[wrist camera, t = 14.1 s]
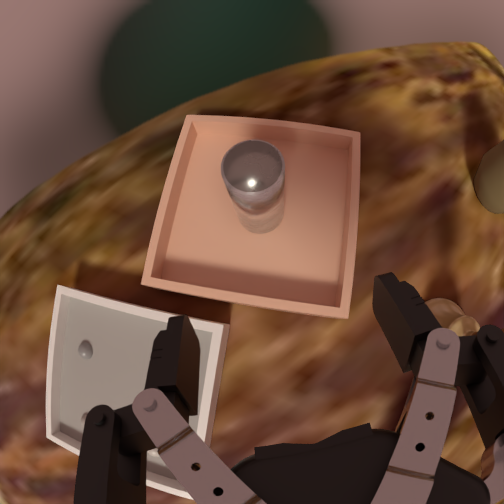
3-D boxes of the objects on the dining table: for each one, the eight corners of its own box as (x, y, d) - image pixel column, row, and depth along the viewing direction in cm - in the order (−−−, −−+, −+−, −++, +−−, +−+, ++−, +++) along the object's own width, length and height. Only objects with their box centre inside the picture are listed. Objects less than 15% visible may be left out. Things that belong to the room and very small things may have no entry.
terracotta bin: (155, 288, 29) (141, 284, 26) (194, 132, 33) (186, 114, 29) (339, 318, 27) (348, 318, 24) (353, 149, 31) (360, 132, 27)
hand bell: (445, 389, 24) (549, 423, 9) (388, 357, 26) (488, 386, 10) (477, 319, 26) (586, 307, 10) (425, 283, 27) (533, 246, 12)
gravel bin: (63, 430, 26) (46, 437, 23) (76, 288, 30) (57, 284, 27) (203, 484, 24) (195, 500, 21) (230, 324, 28) (223, 324, 24)
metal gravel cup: (233, 230, 29) (214, 190, 20) (241, 188, 30) (227, 136, 21) (280, 236, 28) (280, 198, 19) (286, 193, 29) (288, 141, 20)
